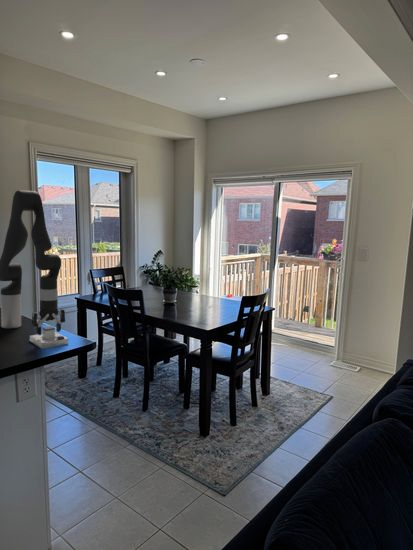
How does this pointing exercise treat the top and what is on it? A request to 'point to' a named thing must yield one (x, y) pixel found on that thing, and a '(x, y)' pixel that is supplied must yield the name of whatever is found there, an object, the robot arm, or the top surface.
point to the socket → (48, 341)
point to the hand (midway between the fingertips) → (48, 333)
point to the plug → (48, 332)
